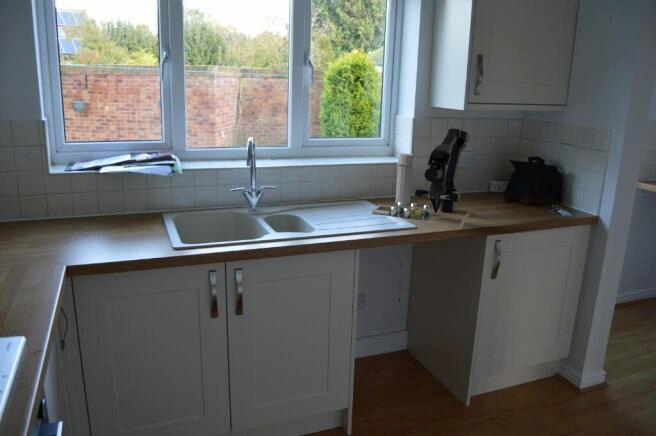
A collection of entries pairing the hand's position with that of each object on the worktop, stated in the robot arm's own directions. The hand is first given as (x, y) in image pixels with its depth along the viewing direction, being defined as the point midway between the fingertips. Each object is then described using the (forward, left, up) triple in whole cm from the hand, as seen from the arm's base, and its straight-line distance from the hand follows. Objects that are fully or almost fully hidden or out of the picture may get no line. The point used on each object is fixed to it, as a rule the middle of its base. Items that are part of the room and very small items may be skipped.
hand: (435, 212), depth 232 cm
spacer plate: (0, -15, -3) cm, 15 cm away
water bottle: (-21, -21, -4) cm, 30 cm away
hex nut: (0, -9, -2) cm, 9 cm away
